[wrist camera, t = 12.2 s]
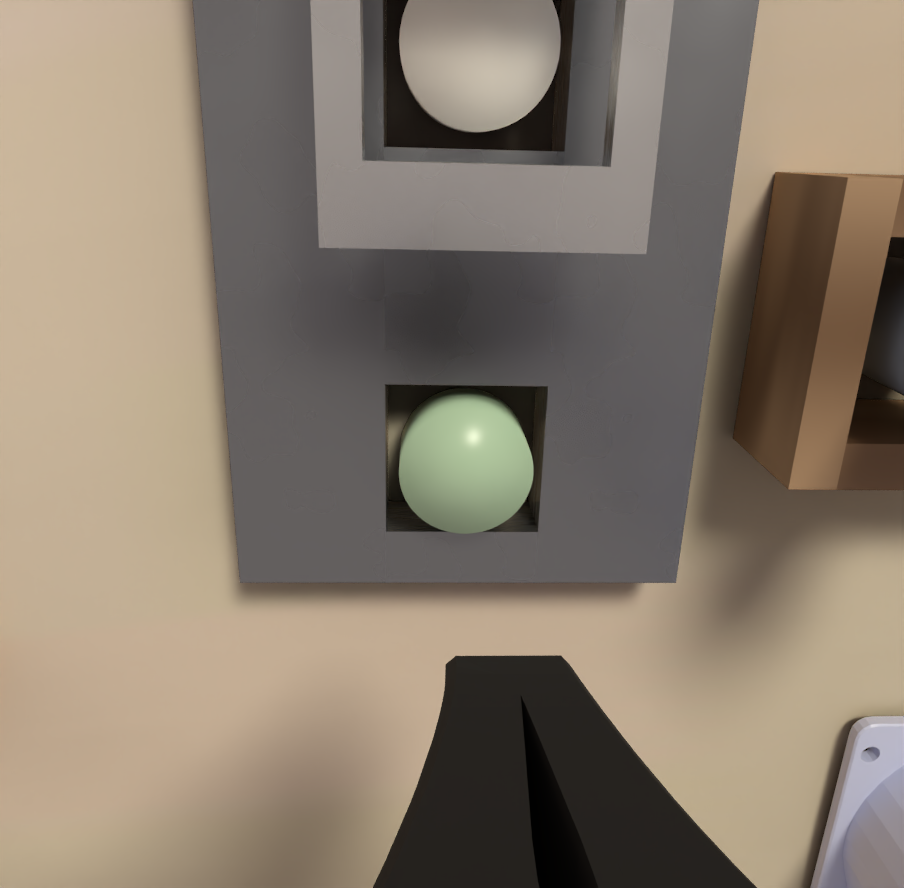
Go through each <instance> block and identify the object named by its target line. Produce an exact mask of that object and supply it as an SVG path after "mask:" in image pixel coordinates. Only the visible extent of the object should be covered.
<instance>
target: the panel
mask: <svg viewBox="0 0 904 888" xmlns="http://www.w3.org/2000/svg"><path fill="white" fill-rule="evenodd" d="M758 4H759V0H561V8H560V24H559V26H560V35H561V41H560V55H559V61H558V65H557V70H556V86H555V101H554V117H553V132H552V148H551V151H525V150H487V149H448V148H410V147H387V66H386V0H193V11H194V23H195V35H196V48H197V60H198V72H199V84H200V97H201V109H202V121H203V134H204V146H205V158H206V171H207V183H208V195H209V208H210V220H211V232H212V244H213V257H214V269H215V281H216V294H217V306H218V318H219V331H220V343H221V355H222V367H223V380H224V392H225V404H226V417H227V429H228V441H229V454H230V466H231V478H232V490H233V503H234V515H235V527H236V540H237V552H238V564H239V577H240V583H676V578H677V571H678V564H679V557H680V550H681V543H682V536H683V529H684V522H685V515H686V508H687V501H688V494H689V487H690V480H691V473H692V466H693V459H694V452H695V445H696V438H697V431H698V424H699V417H700V410H701V403H702V396H703V389H704V382H705V375H706V368H707V361H708V354H709V347H710V340H711V333H712V326H713V319H714V312H715V305H716V298H717V291H718V284H719V277H720V270H721V263H722V256H723V249H724V242H725V235H726V228H727V221H728V214H729V207H730V200H731V193H732V186H733V179H734V172H735V165H736V158H737V151H738V144H739V137H740V130H741V123H742V116H743V109H744V102H745V95H746V88H747V81H748V74H749V67H750V60H751V53H752V46H753V39H754V32H755V25H756V18H757V11H758ZM388 384H391V385H475V386H536V395H535V411H534V426H533V442H532V460H533V481H532V485H531V489H530V491H529V502H524V503H523V505H522V506H521V507H520V508H519V510H518V511H517V512H516V513H515V514H514V515H513V516H512V517H510V518H509V519H508V520H506V521H505V522H503V523H502V524H500V525H498V526H496V527H494V528H492V529H489V530H486V531H483V532H478V533H470V534H460V533H452V532H447V531H444V530H440V529H438V528H436V527H433V526H431V525H430V524H428V523H426V522H425V521H424V520H422V519H421V518H420V517H419V516H417V514H416V513H415V512H414V511H413V510H412V509H411V508H410V506H409V505H408V503H407V501H389V498H388Z"/></svg>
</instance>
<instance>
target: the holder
mask: <svg viewBox="0 0 904 888" xmlns="http://www.w3.org/2000/svg"><path fill="white" fill-rule="evenodd" d="M891 237H904V175H870V174H830V173H790V172H776V173H775V179H774V185H773V191H772V198H771V204H770V210H769V216H768V223H767V229H766V235H765V241H764V247H763V254H762V260H761V266H760V272H759V279H758V285H757V291H756V297H755V304H754V310H753V316H752V322H751V328H750V335H749V341H748V347H747V353H746V360H745V366H744V372H743V378H742V385H741V391H740V397H739V403H738V409H737V416H736V422H735V428H734V434H733V439H734V440H735V441H737V442H738V443H739V444H740V445H741V446H742V447H743V448H744V449H745V450H746V451H747V452H748V453H749V454H751V455H752V456H753V457H754V458H755V459H756V460H757V461H758V462H759V463H760V464H761V465H762V466H764V467H765V468H766V469H767V470H768V471H769V472H770V473H771V474H772V475H773V476H774V477H775V478H776V479H778V480H779V481H780V482H781V483H782V484H783V485H784V486H785V487H786V488H787V489H799V490H904V400H865V399H856V397H857V392H858V387H859V383H860V378H861V373H862V369H863V364H864V359H865V355H866V350H867V345H868V341H869V336H870V332H871V327H872V322H873V318H874V313H875V308H876V304H877V299H878V294H879V290H880V285H881V280H882V276H883V271H884V267H885V262H886V257H887V253H888V248H889V243H890V239H891Z"/></svg>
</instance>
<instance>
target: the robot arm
mask: <svg viewBox="0 0 904 888" xmlns="http://www.w3.org/2000/svg"><path fill="white" fill-rule="evenodd" d="M869 747H870V748H869ZM866 748H869V749H868V750H866V751H863V750H865V749H866ZM373 888H757V887H756V886H755V885H754V884H753V883H752V882H751V881H750V880H749V879H748V878H747V877H746V876H745V875H744V874H743V873H742V872H741V871H740V870H739V869H738V868H737V867H736V866H735V865H734V864H733V863H732V862H731V861H730V860H729V858H728V857H727V856H726V855H725V854H724V853H723V852H722V851H721V850H720V849H719V848H718V847H717V846H716V845H715V843H714V842H713V841H712V840H711V839H710V838H709V837H708V836H707V835H706V834H705V833H704V832H703V831H702V830H701V828H700V827H699V826H698V825H697V824H696V823H695V822H694V821H693V820H692V818H691V817H690V816H689V815H688V814H687V813H686V812H685V811H684V809H683V808H682V807H681V806H680V805H679V804H678V803H677V802H676V800H675V799H674V798H673V797H672V796H671V795H670V793H669V792H668V791H667V790H666V789H665V787H664V786H663V785H662V784H661V783H660V781H659V780H658V779H657V778H656V777H655V775H654V774H653V773H652V772H651V771H650V770H649V768H648V767H647V766H646V765H645V764H644V762H643V761H642V760H641V759H640V758H639V756H638V755H637V754H636V753H635V751H634V750H633V749H632V748H631V746H630V745H629V744H628V743H627V741H626V740H625V739H624V738H623V736H622V735H621V734H620V733H619V731H618V730H617V729H616V727H615V726H614V725H613V723H612V722H611V721H610V719H609V718H608V717H607V716H606V714H605V713H604V712H603V710H602V709H601V708H600V706H599V705H598V704H597V702H596V701H595V700H594V698H593V697H592V695H591V694H590V693H589V691H588V690H587V689H586V687H585V686H584V684H583V683H582V682H581V680H580V679H579V677H578V676H577V675H576V673H575V672H574V670H573V669H572V667H571V666H570V665H569V664H568V663H567V661H566V660H565V659H564V658H563V657H562V656H455V657H454V658H453V659H452V660H451V661H449V662H448V663H447V664H446V675H445V691H444V697H443V702H442V707H441V711H440V715H439V719H438V723H437V726H436V730H435V734H434V737H433V741H432V744H431V746H430V749H429V752H428V755H427V758H426V761H425V764H424V767H423V770H422V773H421V776H420V779H419V782H418V785H417V787H416V790H415V793H414V795H413V798H412V800H411V803H410V805H409V807H408V810H407V812H406V814H405V817H404V819H403V821H402V824H401V826H400V828H399V831H398V833H397V835H396V838H395V840H394V842H393V845H392V847H391V849H390V852H389V854H388V856H387V859H386V861H385V863H384V865H383V867H382V870H381V872H380V874H379V876H378V878H377V880H376V882H375V884H374V886H373ZM810 888H904V716H870V717H864V718H862V719H860V720H858V721H857V722H856V723H855V724H854V725H853V726H852V728H851V730H850V733H849V737H848V741H847V745H846V749H845V753H844V757H843V761H842V764H841V768H840V772H839V776H838V780H837V784H836V788H835V792H834V796H833V800H832V804H831V808H830V812H829V816H828V820H827V824H826V828H825V832H824V836H823V840H822V844H821V848H820V852H819V856H818V860H817V864H816V868H815V872H814V876H813V880H812V884H811V887H810Z"/></svg>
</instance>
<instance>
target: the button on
mask: <svg viewBox="0 0 904 888" xmlns="http://www.w3.org/2000/svg"><path fill="white" fill-rule="evenodd" d="M532 481H533V460H532V455H531V452H530V449H529V446H528V443H527V441H526V438H525V435H524V433H523V430H522V427H521V425H520V422H519V420H518V418H517V417H516V415H515V414H514V412H513V411H512V410H511V409H510V407H509V406H508V405H507V404H505V403H504V402H503V401H502V400H500V399H499V398H497V397H496V396H494V395H492V394H490V393H488V392H485V391H482V390H477V389H472V388H455V389H450V390H446V391H442V392H439V393H437V394H435V395H433V396H431V397H430V398H428V399H426V400H425V401H424V402H422V403H421V404H420V405H419V406H418V407H417V408H416V409H415V410H414V411H413V413H412V414H411V415H410V417H409V418H408V420H407V422H406V424H405V426H404V429H403V432H402V437H401V445H400V462H399V482H400V486H401V490H402V493H403V495H404V498H405V500H406V501H407V503H408V505H409V506H410V508H411V509H412V510H413V511H414V512H415V513H416V514H417V516H419V517H420V518H421V519H422V520H424V521H425V522H426V523H428V524H430V525H431V526H433V527H436V528H438V529H440V530H444V531H447V532H452V533H460V534H470V533H478V532H483V531H486V530H489V529H492V528H494V527H496V526H498V525H500V524H502V523H503V522H505V521H506V520H508V519H509V518H510V517H512V516H513V515H514V514H515V513H516V512H517V511H518V510H519V508H520V507H521V506H522V505H523V503H524V501H525V500H526V498H527V496H528V494H529V491H530V489H531V485H532Z"/></svg>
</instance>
